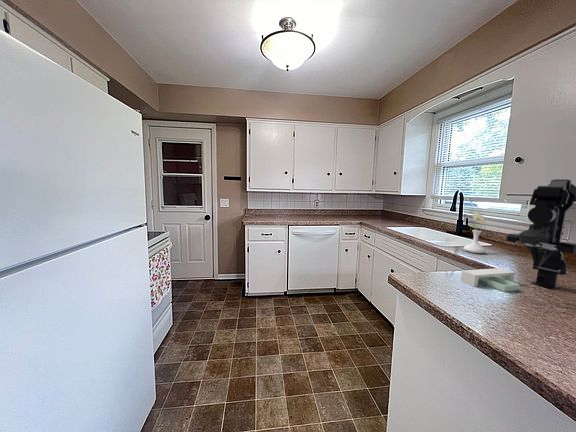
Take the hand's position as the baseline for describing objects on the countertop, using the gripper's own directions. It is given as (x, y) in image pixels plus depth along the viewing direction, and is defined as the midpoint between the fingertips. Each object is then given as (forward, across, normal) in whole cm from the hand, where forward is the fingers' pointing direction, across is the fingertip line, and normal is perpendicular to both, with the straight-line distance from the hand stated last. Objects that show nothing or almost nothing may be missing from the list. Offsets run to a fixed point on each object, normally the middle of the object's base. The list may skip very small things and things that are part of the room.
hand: (537, 266), depth 87 cm
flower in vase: (+12, -58, +48) cm, 76 cm away
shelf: (+12, -16, 0) cm, 19 cm away
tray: (+12, -12, 0) cm, 17 cm away
